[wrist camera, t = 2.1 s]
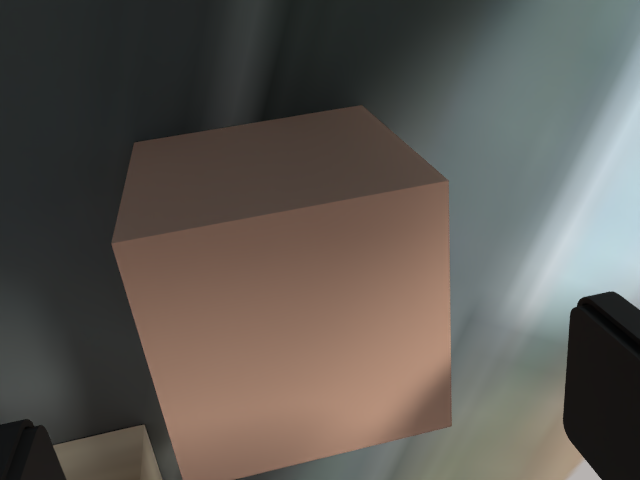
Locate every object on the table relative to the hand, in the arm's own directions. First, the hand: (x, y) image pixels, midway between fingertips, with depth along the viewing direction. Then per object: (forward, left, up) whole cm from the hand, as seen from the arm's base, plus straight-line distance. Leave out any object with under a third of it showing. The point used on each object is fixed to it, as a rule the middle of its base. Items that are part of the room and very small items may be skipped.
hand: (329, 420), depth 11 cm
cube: (-1, 0, -6) cm, 6 cm away
